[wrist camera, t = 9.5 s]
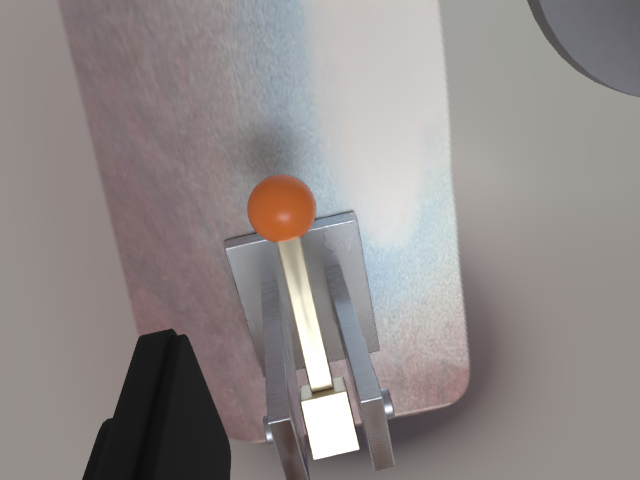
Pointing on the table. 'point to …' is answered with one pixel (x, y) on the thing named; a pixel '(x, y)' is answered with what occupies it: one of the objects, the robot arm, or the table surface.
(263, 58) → the table surface
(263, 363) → the bracket
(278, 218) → the lever
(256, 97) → the table surface
